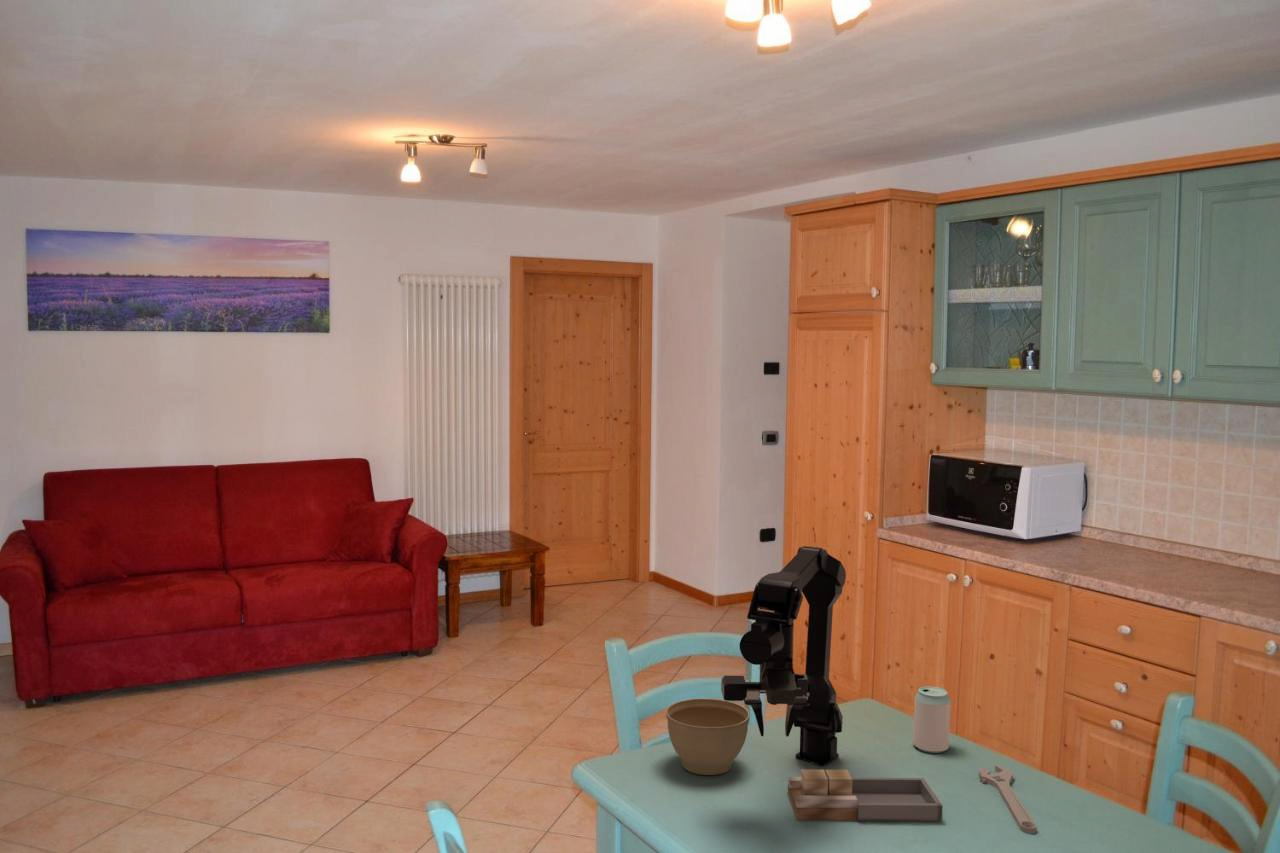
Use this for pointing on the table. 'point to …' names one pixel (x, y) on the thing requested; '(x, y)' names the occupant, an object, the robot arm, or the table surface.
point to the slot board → (820, 804)
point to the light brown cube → (839, 783)
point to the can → (932, 720)
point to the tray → (896, 800)
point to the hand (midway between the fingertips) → (774, 735)
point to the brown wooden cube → (814, 782)
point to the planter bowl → (707, 733)
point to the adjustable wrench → (1008, 796)
